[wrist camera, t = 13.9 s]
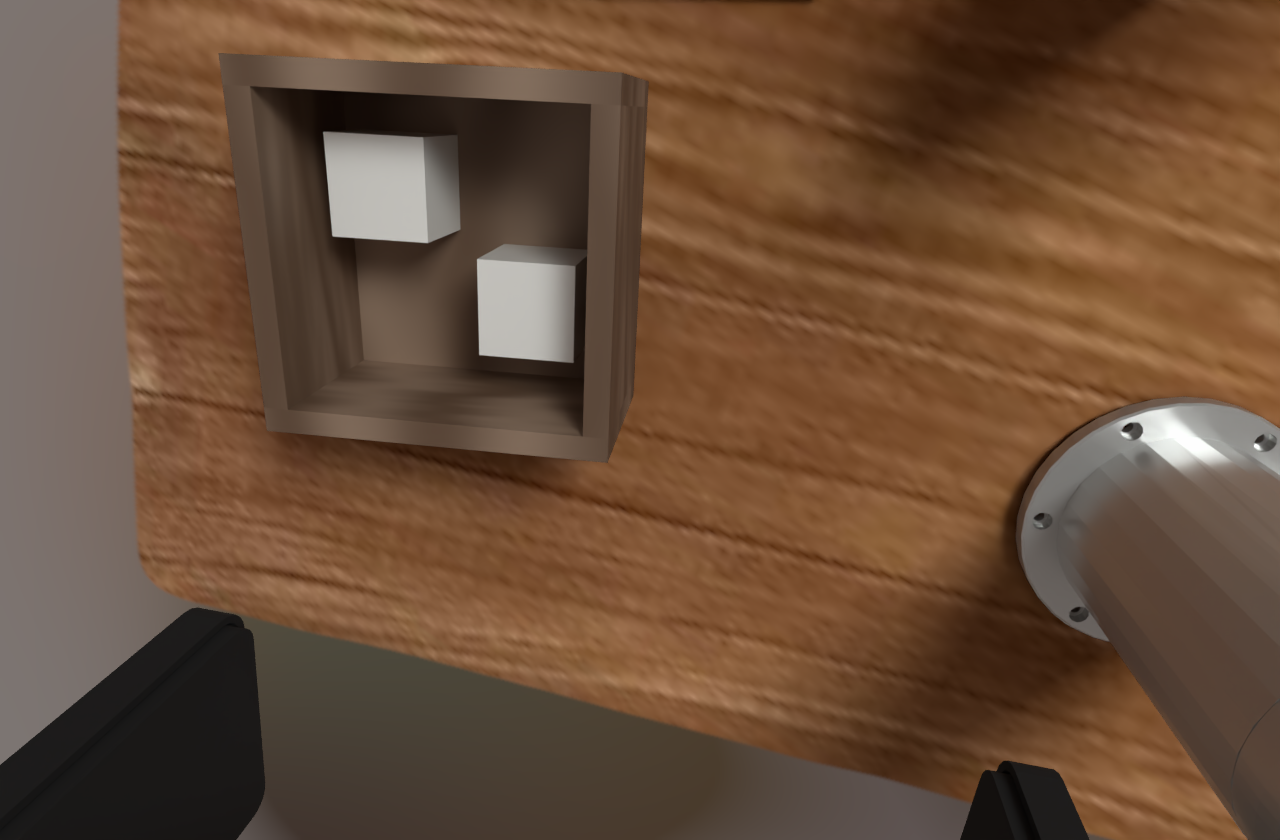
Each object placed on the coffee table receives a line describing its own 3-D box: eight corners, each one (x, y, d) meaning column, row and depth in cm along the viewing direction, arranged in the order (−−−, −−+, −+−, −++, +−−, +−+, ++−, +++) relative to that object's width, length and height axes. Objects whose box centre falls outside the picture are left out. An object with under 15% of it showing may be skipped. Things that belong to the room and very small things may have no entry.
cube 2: (592, 250, 36) (575, 266, 32) (590, 337, 37) (573, 362, 33) (504, 243, 36) (476, 259, 32) (505, 331, 37) (479, 354, 34)
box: (648, 81, 34) (622, 72, 26) (633, 395, 39) (607, 462, 31) (329, 65, 35) (218, 53, 28) (354, 371, 40) (267, 430, 33)
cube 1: (457, 134, 34) (423, 137, 31) (460, 229, 36) (428, 243, 32) (367, 129, 35) (323, 131, 31) (374, 223, 36) (332, 236, 33)
